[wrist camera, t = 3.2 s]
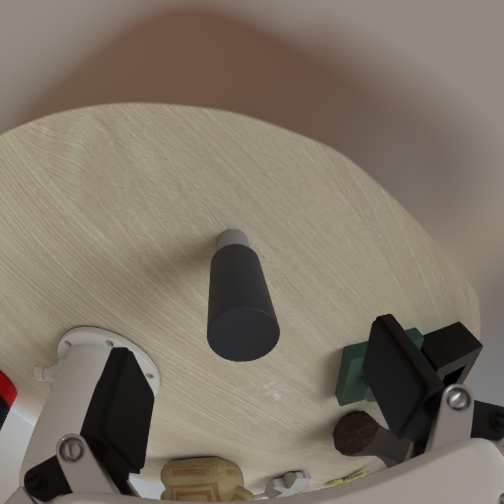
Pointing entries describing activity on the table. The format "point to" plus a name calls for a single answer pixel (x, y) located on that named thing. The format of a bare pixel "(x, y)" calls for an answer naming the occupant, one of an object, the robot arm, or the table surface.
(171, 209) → the table surface
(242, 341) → the soldering iron
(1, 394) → the soda can
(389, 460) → the dark brown bone
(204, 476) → the ceramic vessel
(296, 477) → the white branched piece
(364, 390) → the station
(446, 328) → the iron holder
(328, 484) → the yellow-green curved piece
